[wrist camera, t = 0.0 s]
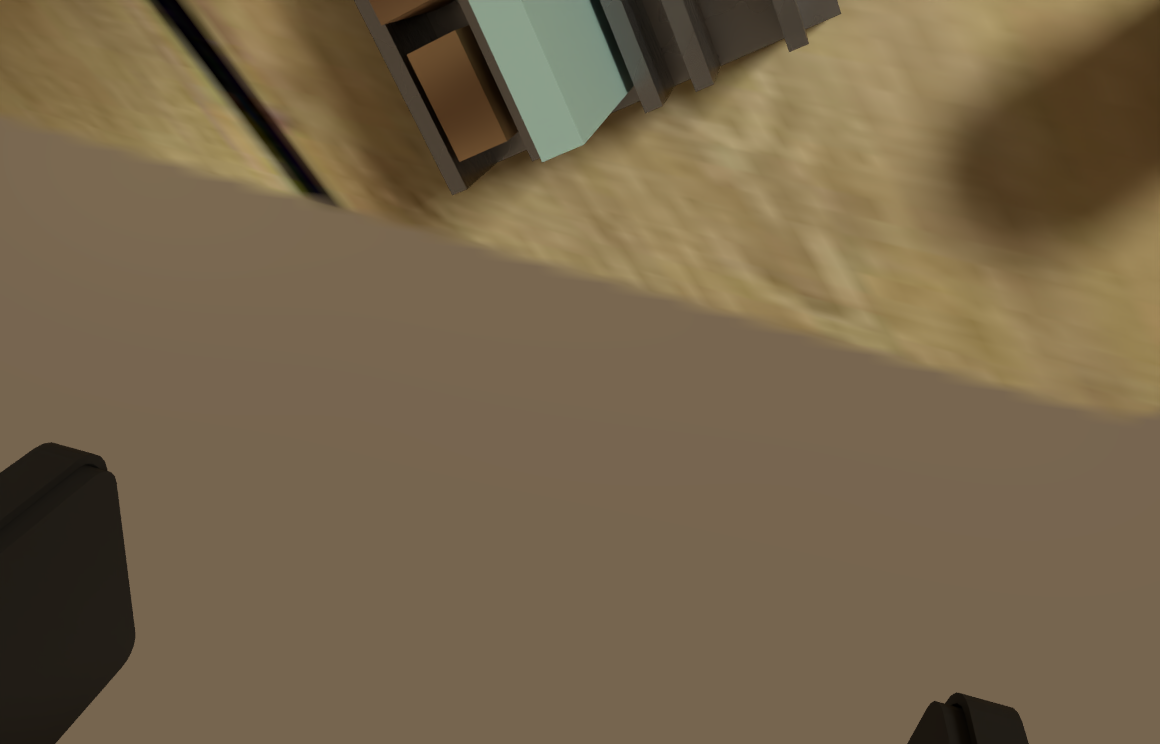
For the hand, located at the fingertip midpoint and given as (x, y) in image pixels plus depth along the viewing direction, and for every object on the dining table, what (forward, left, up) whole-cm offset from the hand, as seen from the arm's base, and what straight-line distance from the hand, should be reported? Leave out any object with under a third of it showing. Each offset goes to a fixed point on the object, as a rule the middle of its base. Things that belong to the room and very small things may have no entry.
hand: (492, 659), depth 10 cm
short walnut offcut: (-5, -10, -36) cm, 37 cm away
